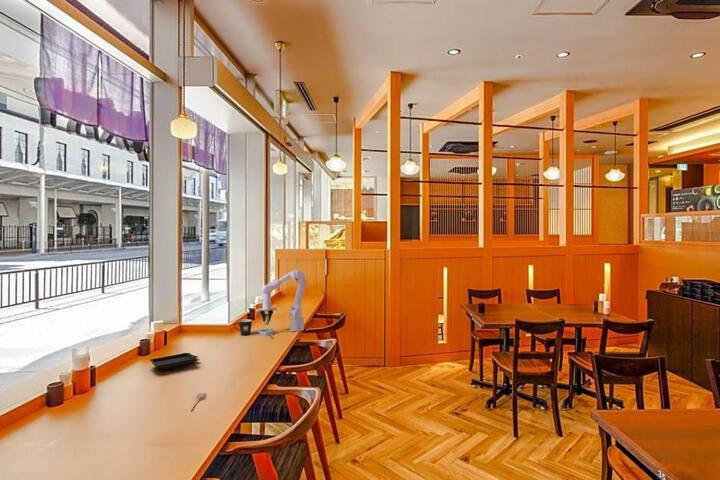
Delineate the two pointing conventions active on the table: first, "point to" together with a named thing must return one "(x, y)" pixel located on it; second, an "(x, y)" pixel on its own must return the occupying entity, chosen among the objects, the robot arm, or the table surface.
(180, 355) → the tray
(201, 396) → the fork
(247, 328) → the coffee mug
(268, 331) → the bead ring
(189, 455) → the table surface
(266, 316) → the needle dowel
